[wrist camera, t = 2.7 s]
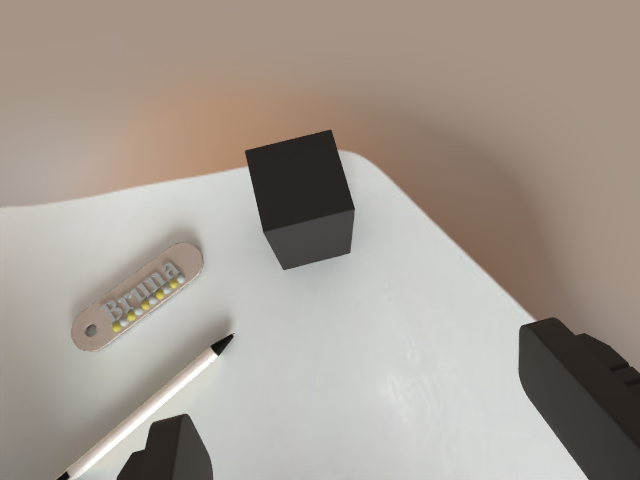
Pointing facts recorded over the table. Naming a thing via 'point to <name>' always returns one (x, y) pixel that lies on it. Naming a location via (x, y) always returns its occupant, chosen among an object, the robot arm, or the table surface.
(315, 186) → the pad block
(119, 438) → the pen
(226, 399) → the table surface
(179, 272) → the keychain
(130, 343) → the table surface
